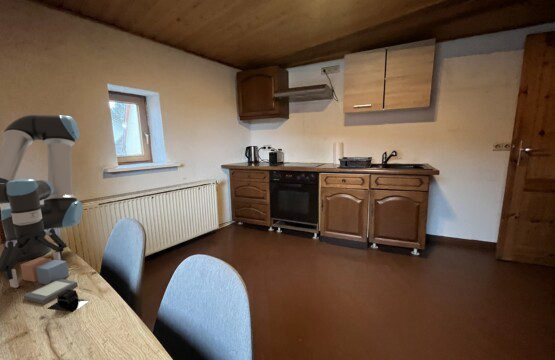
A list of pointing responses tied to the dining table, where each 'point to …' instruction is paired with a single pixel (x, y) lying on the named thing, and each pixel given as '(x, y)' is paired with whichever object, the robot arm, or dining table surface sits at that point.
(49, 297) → the blueprint board
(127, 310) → the dining table surface
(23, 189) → the robot arm
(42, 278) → the blue block
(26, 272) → the terracotta block
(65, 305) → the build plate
